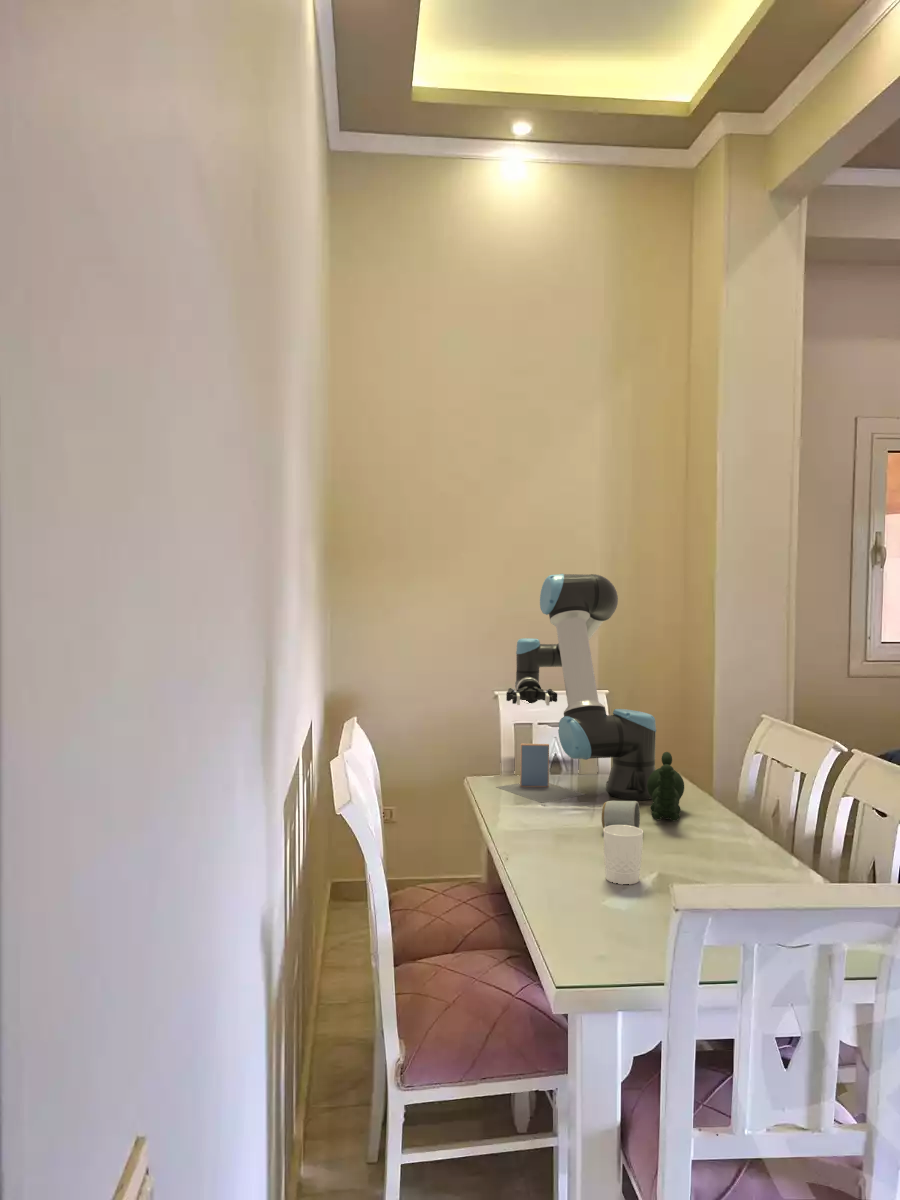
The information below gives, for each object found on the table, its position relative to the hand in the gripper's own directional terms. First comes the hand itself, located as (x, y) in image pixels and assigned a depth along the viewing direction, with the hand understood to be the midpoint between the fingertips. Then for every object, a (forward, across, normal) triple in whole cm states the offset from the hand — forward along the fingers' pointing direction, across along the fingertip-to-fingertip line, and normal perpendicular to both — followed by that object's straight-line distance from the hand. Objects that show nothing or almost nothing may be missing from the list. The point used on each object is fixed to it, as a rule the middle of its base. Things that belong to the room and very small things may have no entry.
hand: (533, 700), depth 262 cm
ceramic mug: (+50, -18, -24) cm, 59 cm away
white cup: (+82, -13, -24) cm, 86 cm away
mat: (+13, -1, -24) cm, 28 cm away
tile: (+8, 0, -23) cm, 25 cm away
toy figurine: (+33, -32, -24) cm, 52 cm away
